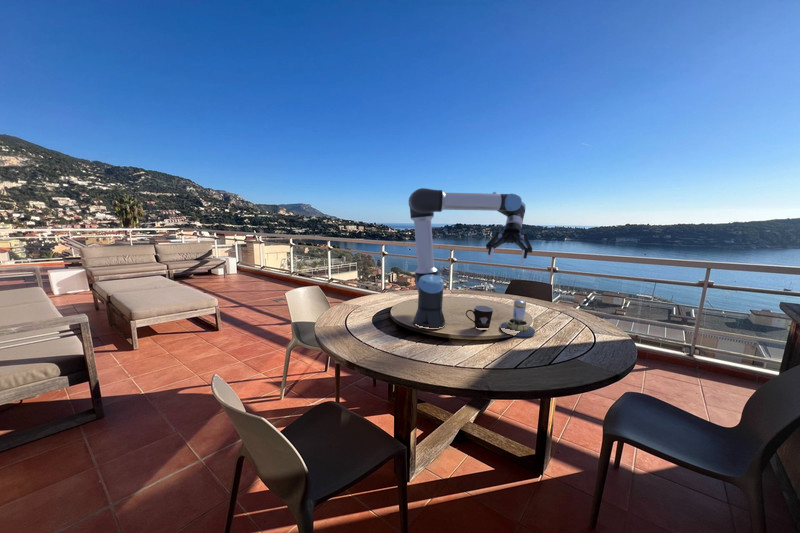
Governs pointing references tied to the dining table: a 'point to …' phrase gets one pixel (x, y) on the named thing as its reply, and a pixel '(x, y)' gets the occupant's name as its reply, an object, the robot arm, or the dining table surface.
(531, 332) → the socket plate
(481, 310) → the coffee mug
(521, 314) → the salt shaker
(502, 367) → the dining table surface
